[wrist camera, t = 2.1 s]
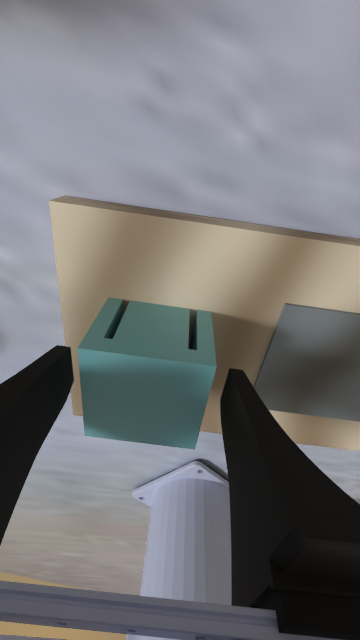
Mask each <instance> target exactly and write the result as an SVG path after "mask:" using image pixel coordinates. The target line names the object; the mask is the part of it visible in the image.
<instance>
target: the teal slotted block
mask: <svg viewBox="0 0 360 640" xmlns="http://www.w3.org/2000/svg"><path fill="white" fill-rule="evenodd" d="M122 313H123V299H117V298H109V297H108V299H107V300H106V302H105V304H104V305H103V307H102V308H101V310H100V312H99V313H98V315H97V317H96V318H95V320H94V322H93V323H92V325H91V327H90V328H89V330H88V331H87V333H86V335H85V336H84V338H83V340H82V341H81V343H80V345H79V346H78V348H77V350H78V361H79V373H80V385H81V396H82V408H83V420H84V431H85V436H91V437H99V438H107V439H115V440H123V441H131V442H139V443H147V444H155V445H163V446H171V447H179V448H187V449H195V447H196V443H197V439H198V435H199V431H200V428H201V424H202V420H203V416H204V413H205V409H206V405H207V401H208V398H209V394H210V390H211V386H212V382H213V379H214V375H215V371H216V367H217V365H216V355H215V345H214V335H213V325H212V315H211V311H203V310H197V312H196V317H195V323H194V328H193V333H192V339H191V344H190V349H188V342H189V316H190V309H189V308H182V307H174V306H167V305H160V304H153V303H146V302H138V301H131V300H130V302H129V304H128V306H127V308H126V311H125V313H124V315H123V317H122Z"/></svg>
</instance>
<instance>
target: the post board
mask: <svg viewBox="0 0 360 640" xmlns="http://www.w3.org/2000/svg"><path fill="white" fill-rule="evenodd" d="M49 206H50V215H51V224H52V233H53V241H54V250H55V259H56V267H57V276H58V285H59V294H60V302H61V311H62V320H63V329H64V337H65V346H66V347H71V355H72V365H73V374H74V382H73V385H72V387H71V399H72V407H73V415H77V416H83V408H82V396H81V385H80V373H79V361H78V350H77V348H78V346H79V345H80V343H81V341H82V340H83V338H84V336H85V335H86V333H87V331H88V330H89V328H90V327H91V325H92V323H93V322H94V320H95V318H96V317H97V315H98V313H99V312H100V310H101V308H102V307H103V305H104V304H105V302H106V300H107V299H108V297H109V298H117V299H123V313H122V317H123V315H124V313H125V311H126V308H127V306H128V304H129V302H130V300H131V301H138V302H146V303H153V304H160V305H167V306H174V307H182V308H189V309H190V316H189V342H188V349H190V344H191V339H192V333H193V328H194V323H195V317H196V312H197V310H203V311H211V315H212V325H213V335H214V345H215V355H216V365H217V367H216V371H215V375H214V379H213V382H212V386H211V390H210V394H209V398H208V401H207V405H206V409H205V413H204V416H203V420H202V424H201V428H200V431H204V432H211V433H219V434H222V427H221V417H220V398H221V395H222V391H223V388H224V385H225V381H226V378H227V375H228V371H229V368H233V369H240V370H243V371H244V372H245V374H246V376H247V377H248V379H249V381H250V382H251V384H252V385H253V387H254V389H255V390H256V392H257V393H258V395H259V397H260V398H261V400H262V401H263V403H264V404H265V405H266V407H267V408H268V410H269V411H270V413H271V414H272V416H273V417H274V418H275V420H276V421H277V422H278V424H279V425H280V426H281V427H282V429H283V430H284V431H285V433H286V434H287V435H288V436H289V437H290V438H291V440H292V441H293V442H294V443H298V444H306V445H314V446H322V447H330V448H338V449H346V450H354V451H358V450H359V449H360V239H354V238H348V237H341V236H334V235H327V234H320V233H314V232H307V231H300V230H293V229H286V228H280V227H273V226H266V225H259V224H253V223H246V222H239V221H232V220H225V219H219V218H212V217H205V216H198V215H191V214H185V213H178V212H171V211H164V210H158V209H151V208H144V207H137V206H130V205H124V204H117V203H110V202H103V201H96V200H90V199H83V198H76V197H69V196H62V197H59V198H56V199H53V200H49Z"/></svg>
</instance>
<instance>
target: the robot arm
mask: <svg viewBox="0 0 360 640" xmlns="http://www.w3.org/2000/svg"><path fill="white" fill-rule="evenodd" d="M73 382H74V374H73V365H72V355H71V347H66V346H58V345H57V346H55V347H54V348H52V349H51V350H50V351H48V352H47V353H45V354H44V355H43V356H41V357H40V358H38V359H37V360H36V361H34V362H33V363H31V364H30V365H29V366H27V367H26V368H24V369H23V370H21V371H20V372H18V373H17V374H16V375H14V376H12V377H11V378H9V379H8V380H6V381H4V382H3V383H1V384H0V545H1V542H2V539H3V536H4V534H5V531H6V528H7V526H8V523H9V521H10V518H11V515H12V513H13V510H14V508H15V505H16V503H17V500H18V498H19V495H20V493H21V490H22V488H23V486H24V483H25V481H26V478H27V476H28V474H29V471H30V469H31V467H32V464H33V462H34V460H35V458H36V455H37V454H38V452H39V450H40V448H41V446H42V444H43V442H44V440H45V438H46V437H47V435H48V433H49V431H50V429H51V428H52V426H53V424H54V422H55V420H56V419H57V417H58V415H59V413H60V411H61V409H62V408H63V406H64V404H65V402H66V400H67V397H68V395H69V393H70V390H71V387H72V385H73ZM220 417H221V427H222V434H223V441H224V448H225V455H226V462H227V469H228V478H229V482H228V481H227V480H225V479H224V478H222V477H221V476H220V475H218V474H217V473H215V472H214V471H212V470H211V469H210V468H208V467H207V466H205V465H204V464H203V463H201V462H199V461H193V462H191V463H189V464H187V465H185V466H183V467H180V468H178V469H176V470H174V471H172V472H170V473H168V474H166V475H164V476H162V477H159V478H157V479H155V480H153V481H151V482H149V483H147V484H145V485H143V486H141V487H138V488H136V489H134V490H133V493H132V496H133V497H134V498H136V499H137V500H139V501H141V502H143V503H144V504H146V505H148V506H150V507H151V512H150V520H149V528H148V536H147V544H146V552H145V560H144V568H143V575H142V583H141V591H140V596H138V595H129V594H119V593H110V592H101V591H92V590H82V589H73V588H64V587H54V586H45V585H35V584H27V583H17V582H8V581H0V621H6V622H15V623H25V624H35V625H44V626H53V627H64V628H73V629H82V630H92V631H102V632H112V633H121V634H127V639H126V640H360V504H359V503H357V502H356V501H355V500H354V499H352V498H351V497H350V496H349V495H347V494H346V493H345V492H344V491H343V490H342V489H341V488H340V487H338V486H337V485H336V484H335V483H334V482H333V481H332V480H331V479H329V478H328V477H327V476H326V475H325V474H324V473H323V472H322V471H321V470H320V469H319V468H318V467H317V466H316V465H315V464H314V463H313V462H312V461H311V460H310V459H309V458H308V457H307V456H306V455H305V454H304V453H303V452H302V451H301V450H300V449H299V448H298V446H297V445H296V444H295V443H294V442H293V441H292V440H291V438H290V437H289V436H288V435H287V434H286V433H285V431H284V430H283V429H282V427H281V426H280V425H279V424H278V422H277V421H276V420H275V418H274V417H273V416H272V414H271V413H270V411H269V410H268V408H267V407H266V405H265V404H264V403H263V401H262V400H261V398H260V397H259V395H258V393H257V392H256V390H255V389H254V387H253V385H252V384H251V382H250V381H249V379H248V377H247V376H246V374H245V372H244V371H243V370H240V369H233V368H229V371H228V375H227V378H226V381H225V385H224V388H223V391H222V395H221V398H220ZM0 640H65V639H53V638H39V637H26V636H16V635H0Z"/></svg>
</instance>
